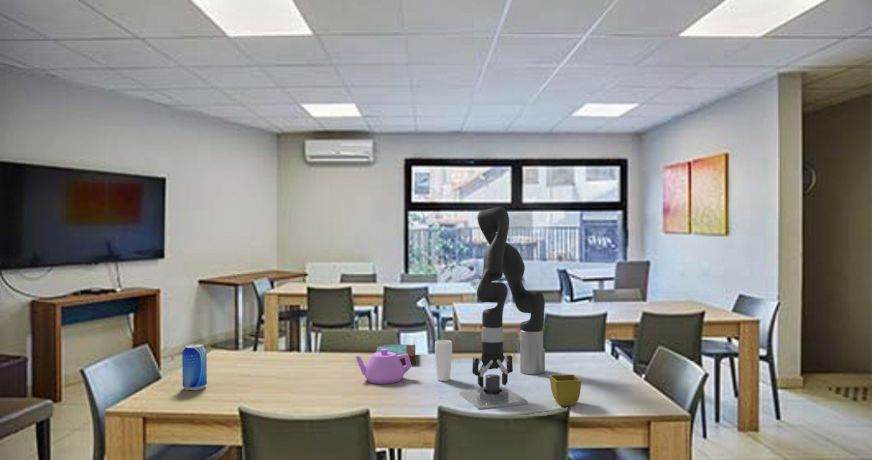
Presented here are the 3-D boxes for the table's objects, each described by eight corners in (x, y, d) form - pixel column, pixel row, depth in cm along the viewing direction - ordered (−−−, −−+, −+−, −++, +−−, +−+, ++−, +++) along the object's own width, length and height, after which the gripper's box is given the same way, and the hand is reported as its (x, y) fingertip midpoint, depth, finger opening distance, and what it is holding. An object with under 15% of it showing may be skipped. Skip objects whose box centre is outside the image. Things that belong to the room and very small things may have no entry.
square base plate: (505, 389, 222) (505, 381, 222) (527, 403, 205) (527, 395, 205) (459, 394, 217) (459, 386, 217) (478, 409, 200) (478, 400, 200)
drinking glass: (450, 382, 233) (450, 343, 233) (433, 381, 234) (433, 343, 234) (453, 378, 240) (453, 340, 239) (436, 377, 241) (436, 339, 241)
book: (415, 366, 261) (415, 354, 261) (374, 367, 261) (374, 355, 261) (415, 354, 284) (415, 344, 284) (377, 355, 284) (377, 344, 283)
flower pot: (549, 400, 209) (549, 374, 209) (573, 399, 210) (573, 373, 210) (556, 408, 200) (556, 381, 200) (582, 407, 201) (582, 380, 201)
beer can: (211, 386, 230) (211, 344, 229) (196, 392, 222) (195, 348, 222) (193, 384, 232) (193, 342, 232) (177, 390, 224) (177, 347, 224)
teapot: (410, 373, 247) (410, 344, 247) (413, 384, 231) (413, 352, 231) (356, 375, 244) (356, 346, 244) (355, 386, 229) (355, 354, 229)
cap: (496, 393, 214) (496, 373, 214) (502, 397, 209) (502, 377, 209) (483, 394, 212) (483, 375, 212) (488, 398, 208) (488, 378, 208)
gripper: (506, 336, 216) (506, 381, 217) (469, 338, 212) (469, 384, 212) (515, 340, 209) (516, 386, 209) (477, 342, 205) (477, 390, 205)
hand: (492, 385), depth 211 cm, fingers open, 8 cm apart
